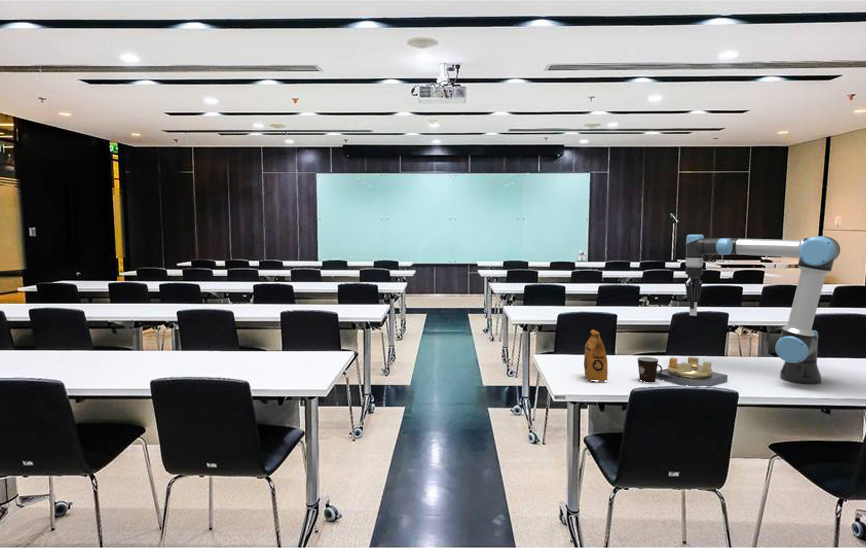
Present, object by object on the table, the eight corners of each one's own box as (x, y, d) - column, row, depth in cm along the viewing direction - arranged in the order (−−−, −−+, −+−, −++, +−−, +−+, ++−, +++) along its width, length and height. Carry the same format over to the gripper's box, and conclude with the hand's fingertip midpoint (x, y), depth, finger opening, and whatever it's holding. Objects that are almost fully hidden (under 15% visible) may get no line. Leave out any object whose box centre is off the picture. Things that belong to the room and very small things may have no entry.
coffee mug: (634, 378, 245) (634, 356, 244) (653, 378, 245) (653, 356, 244) (643, 385, 233) (644, 362, 233) (663, 385, 233) (664, 362, 233)
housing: (727, 381, 238) (727, 374, 238) (698, 389, 227) (698, 382, 227) (681, 371, 257) (681, 364, 257) (652, 378, 245) (652, 371, 245)
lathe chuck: (695, 367, 252) (695, 355, 251) (721, 376, 234) (721, 364, 234) (659, 368, 249) (660, 357, 249) (683, 378, 232) (683, 366, 231)
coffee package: (586, 382, 239) (586, 333, 237) (582, 375, 251) (583, 329, 250) (609, 383, 237) (610, 334, 236) (604, 376, 250) (605, 329, 248)
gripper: (695, 267, 251) (693, 317, 253) (708, 266, 259) (707, 314, 260) (679, 266, 257) (678, 315, 258) (693, 265, 265) (692, 313, 266)
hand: (693, 315), depth 259 cm, fingers closed
